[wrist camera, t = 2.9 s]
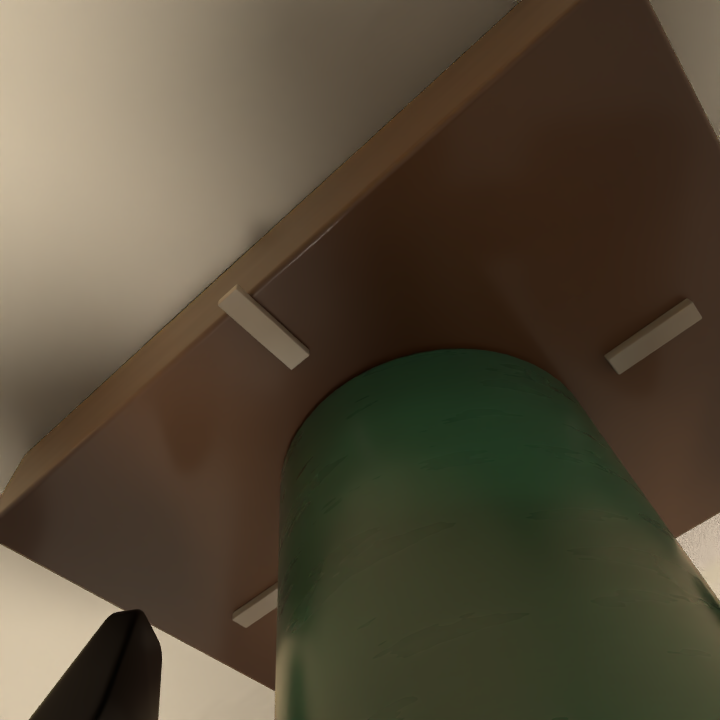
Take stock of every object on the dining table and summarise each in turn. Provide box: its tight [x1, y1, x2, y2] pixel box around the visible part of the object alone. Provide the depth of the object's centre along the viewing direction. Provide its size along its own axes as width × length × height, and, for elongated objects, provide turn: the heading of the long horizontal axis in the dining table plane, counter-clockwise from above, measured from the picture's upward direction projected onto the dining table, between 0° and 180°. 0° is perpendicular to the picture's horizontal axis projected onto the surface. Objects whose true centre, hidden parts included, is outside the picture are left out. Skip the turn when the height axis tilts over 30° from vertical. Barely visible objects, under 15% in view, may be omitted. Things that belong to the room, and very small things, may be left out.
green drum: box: [275, 348, 720, 720], centre depth 7 cm, size 5×5×7 cm
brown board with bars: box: [0, 0, 720, 691], centre depth 11 cm, size 12×9×2 cm
